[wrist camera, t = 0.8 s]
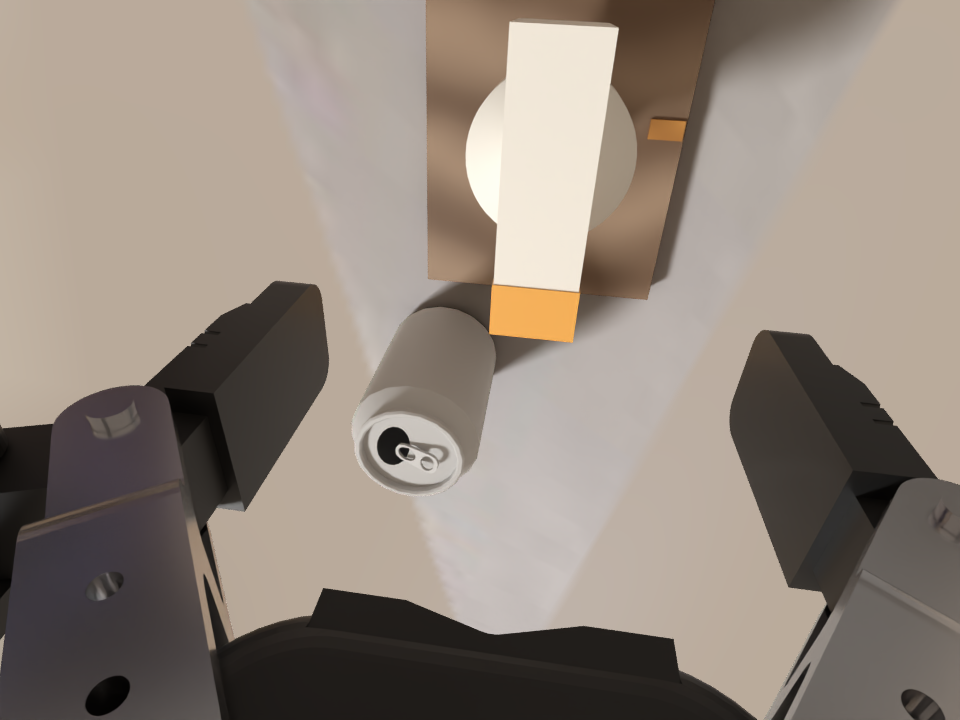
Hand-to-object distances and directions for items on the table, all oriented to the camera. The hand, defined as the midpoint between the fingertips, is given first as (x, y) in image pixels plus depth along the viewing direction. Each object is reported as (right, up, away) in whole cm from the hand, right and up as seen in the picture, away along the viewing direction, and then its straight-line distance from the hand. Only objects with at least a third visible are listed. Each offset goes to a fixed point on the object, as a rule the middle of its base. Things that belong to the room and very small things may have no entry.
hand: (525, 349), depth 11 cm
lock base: (+3, +13, +21) cm, 25 cm away
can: (-3, +1, +31) cm, 31 cm away
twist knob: (+2, +9, +15) cm, 18 cm away
